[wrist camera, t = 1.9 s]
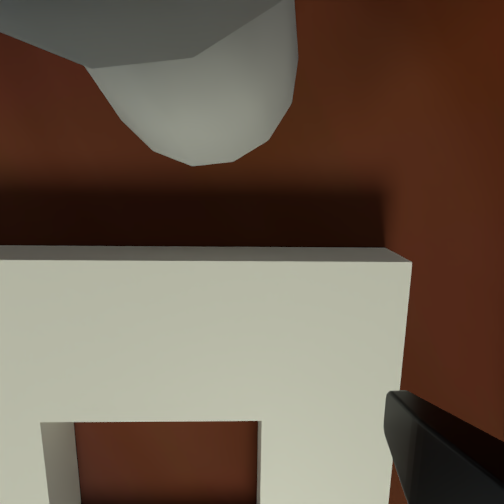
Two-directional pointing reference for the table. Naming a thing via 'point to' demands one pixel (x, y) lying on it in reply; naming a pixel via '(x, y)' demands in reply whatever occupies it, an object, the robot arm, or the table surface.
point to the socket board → (203, 358)
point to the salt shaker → (176, 65)
